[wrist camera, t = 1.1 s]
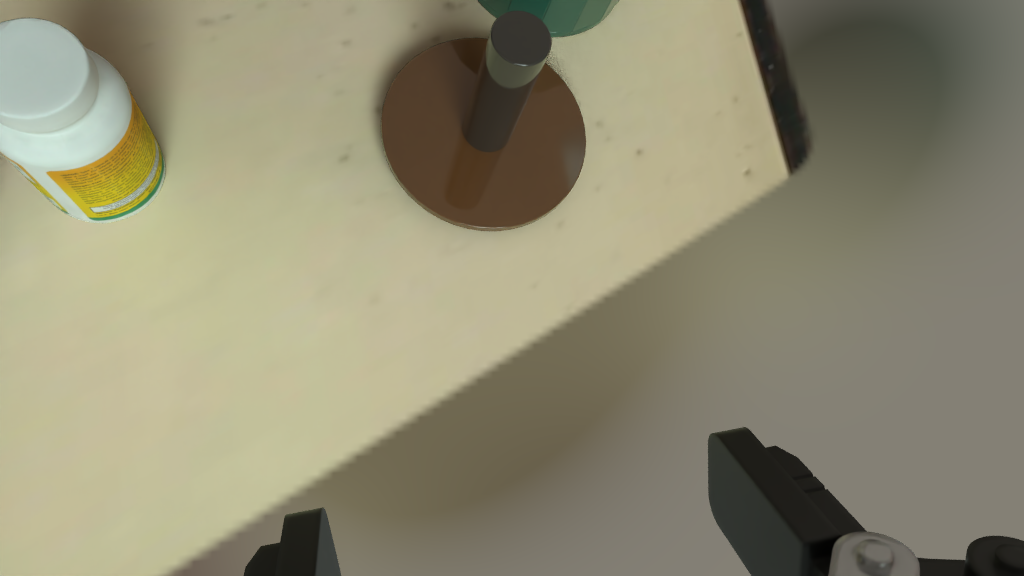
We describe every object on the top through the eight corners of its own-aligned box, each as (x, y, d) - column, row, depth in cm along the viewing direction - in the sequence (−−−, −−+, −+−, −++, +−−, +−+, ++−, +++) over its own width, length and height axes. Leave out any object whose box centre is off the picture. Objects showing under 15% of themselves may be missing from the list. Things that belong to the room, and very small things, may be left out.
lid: (344, 88, 39) (343, -32, 30) (521, 23, 42) (568, -103, 33) (439, 268, 38) (467, 199, 29) (615, 187, 41) (690, 102, 32)
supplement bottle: (26, 208, 35) (-91, 108, 25) (70, 107, 36) (-24, -21, 27) (145, 239, 35) (74, 153, 26) (184, 139, 37) (130, 26, 28)
